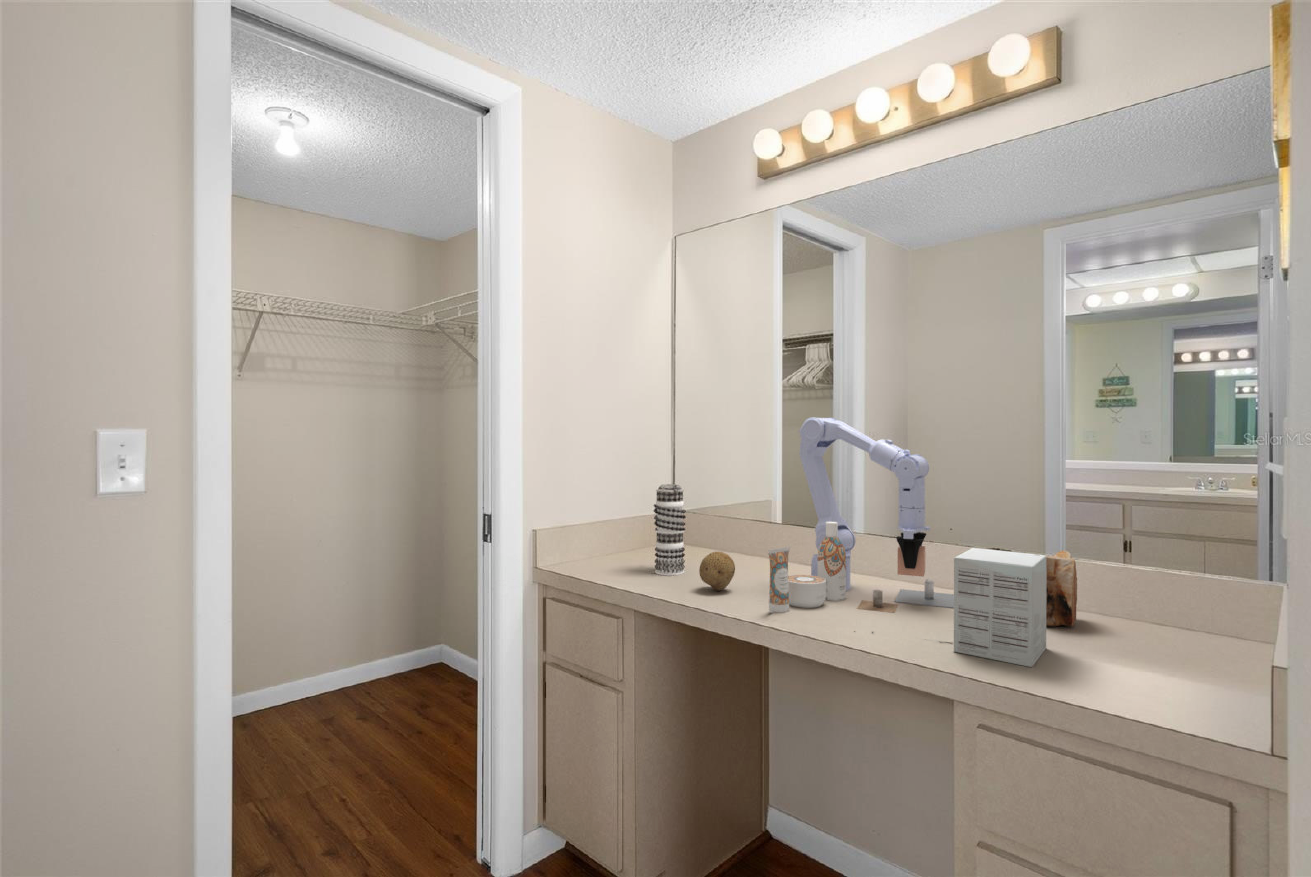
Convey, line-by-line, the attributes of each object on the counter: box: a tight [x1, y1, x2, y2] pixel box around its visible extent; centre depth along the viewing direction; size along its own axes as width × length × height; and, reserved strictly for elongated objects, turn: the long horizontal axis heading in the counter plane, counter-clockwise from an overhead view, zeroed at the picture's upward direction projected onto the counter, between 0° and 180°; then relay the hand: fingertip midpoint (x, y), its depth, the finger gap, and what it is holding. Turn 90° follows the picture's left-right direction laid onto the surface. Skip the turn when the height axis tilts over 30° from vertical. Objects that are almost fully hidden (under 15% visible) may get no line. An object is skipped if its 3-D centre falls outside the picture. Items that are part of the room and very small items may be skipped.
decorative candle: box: [653, 483, 687, 576], centre depth 190 cm, size 9×9×25 cm
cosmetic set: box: [767, 522, 847, 614], centre depth 153 cm, size 25×9×19 cm, turn 127°
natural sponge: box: [699, 551, 736, 592], centre depth 168 cm, size 9×9×10 cm
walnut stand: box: [856, 589, 899, 614], centre depth 150 cm, size 8×8×4 cm
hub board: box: [894, 578, 954, 610], centre depth 157 cm, size 14×13×6 cm
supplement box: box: [953, 547, 1047, 668], centre depth 123 cm, size 13×13×18 cm
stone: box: [1045, 550, 1078, 628], centre depth 139 cm, size 14×9×15 cm, turn 127°
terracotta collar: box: [897, 545, 926, 578], centre depth 154 cm, size 6×6×6 cm
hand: (911, 565), depth 154 cm, fingers closed on terracotta collar, 6 cm apart
